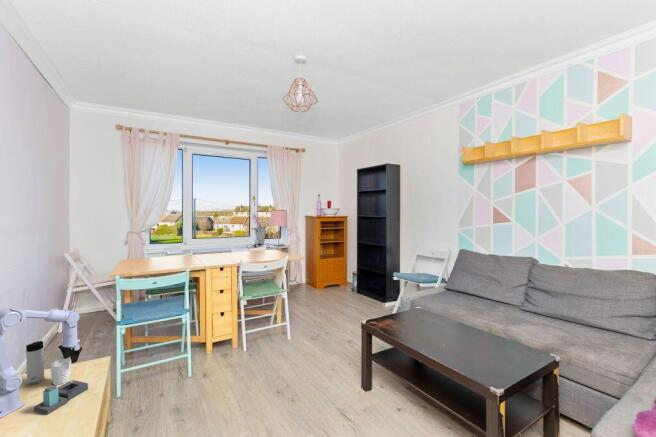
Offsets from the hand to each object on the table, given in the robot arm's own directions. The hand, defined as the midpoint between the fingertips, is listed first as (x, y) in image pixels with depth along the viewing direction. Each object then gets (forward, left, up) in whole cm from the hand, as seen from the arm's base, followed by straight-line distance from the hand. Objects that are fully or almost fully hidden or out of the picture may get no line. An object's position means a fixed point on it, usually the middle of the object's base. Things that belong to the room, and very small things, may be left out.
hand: (70, 360), depth 155 cm
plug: (-18, -13, -10) cm, 24 cm away
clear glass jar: (-2, +3, -10) cm, 11 cm away
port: (-8, -11, -10) cm, 17 cm away
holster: (-18, -13, -10) cm, 24 cm away
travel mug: (-6, +15, -10) cm, 19 cm away
